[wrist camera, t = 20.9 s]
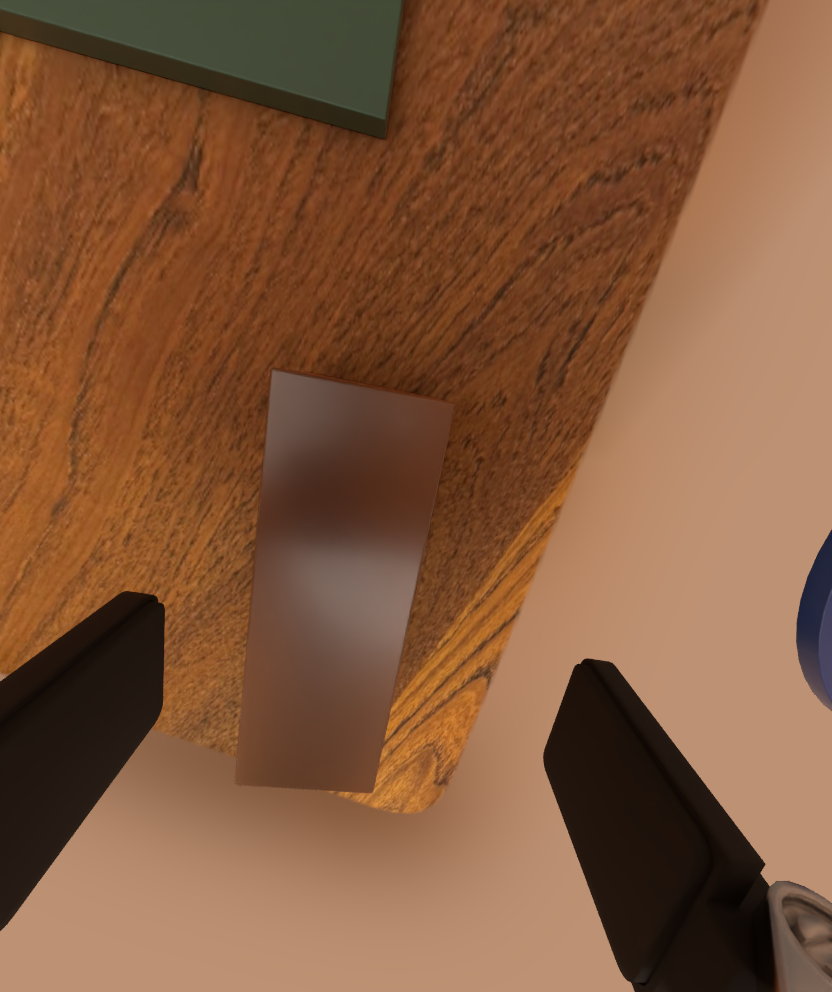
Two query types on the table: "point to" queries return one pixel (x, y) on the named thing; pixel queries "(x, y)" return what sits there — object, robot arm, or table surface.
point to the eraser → (334, 575)
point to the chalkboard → (240, 48)
